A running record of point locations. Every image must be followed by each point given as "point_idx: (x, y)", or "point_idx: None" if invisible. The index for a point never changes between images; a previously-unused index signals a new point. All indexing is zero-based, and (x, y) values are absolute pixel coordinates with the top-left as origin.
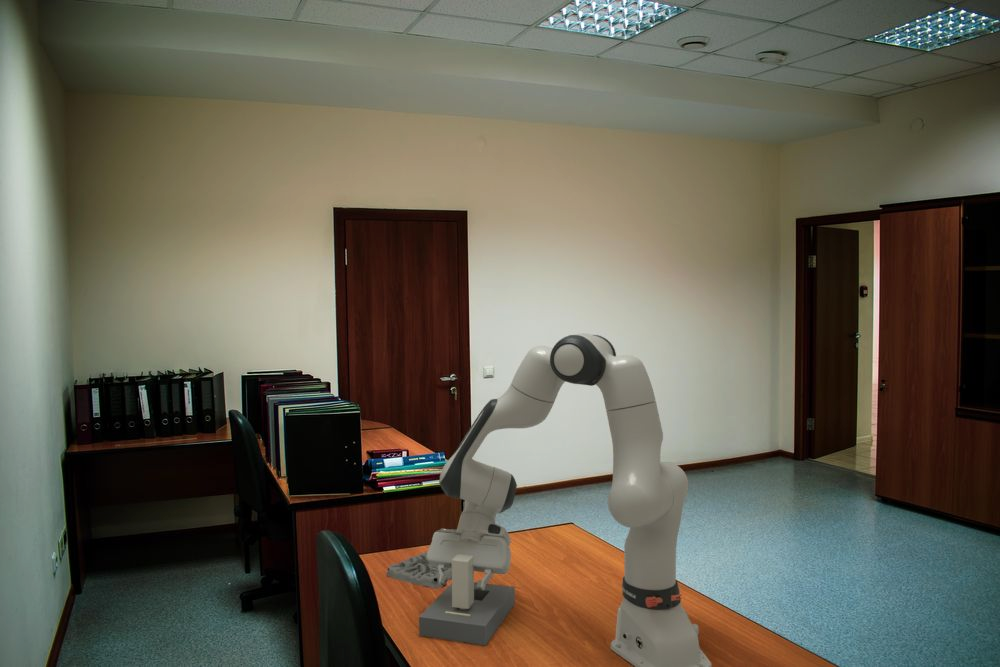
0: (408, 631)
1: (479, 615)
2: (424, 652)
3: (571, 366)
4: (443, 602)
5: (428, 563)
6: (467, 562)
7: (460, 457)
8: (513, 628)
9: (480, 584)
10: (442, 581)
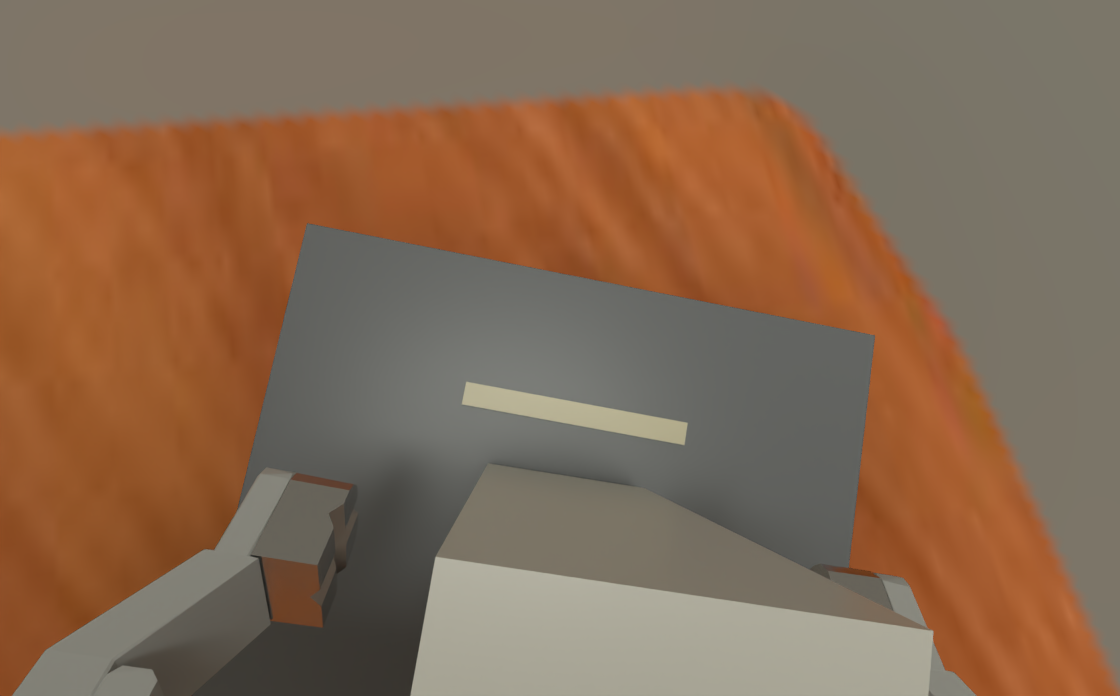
0: (887, 406)
1: (382, 411)
2: (712, 156)
3: None
4: None
5: None
6: (449, 553)
7: None
8: (170, 535)
9: (288, 498)
10: (856, 578)
